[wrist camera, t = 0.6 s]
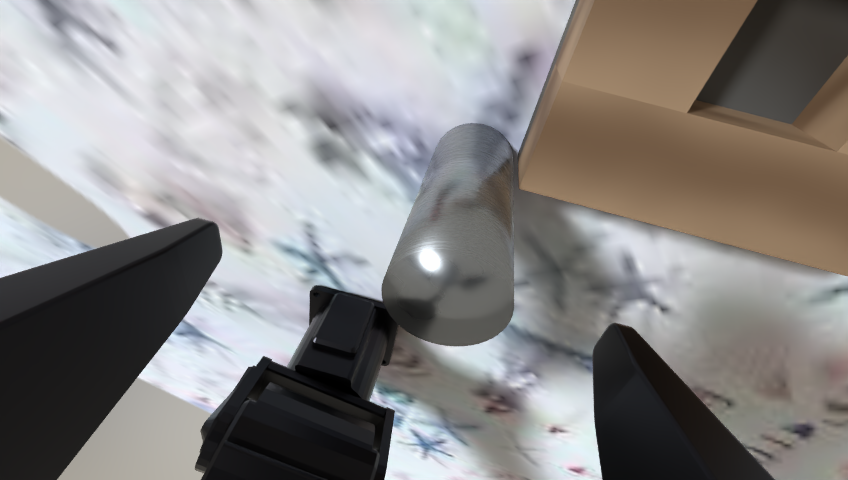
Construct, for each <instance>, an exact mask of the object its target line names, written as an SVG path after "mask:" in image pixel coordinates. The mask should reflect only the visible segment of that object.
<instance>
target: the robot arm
mask: <svg viewBox="0 0 848 480" xmlns="http://www.w3.org/2000/svg"><path fill="white" fill-rule="evenodd" d="M221 257H222V245H221V239H220V233H219V228H218V225H217V224H216V223H215V222H213V221H209V220H205V219H200V218H196V219H192V220H189V221H185V222H182V223H179V224H176V225H172V226H169V227H166V228H163V229H159V230H156V231H153V232H149V233H146V234H143V235H140V236H136V237H133V238H130V239H126V240H124V241H120V242H117V243H113V244H110V245H107V246H103V247H100V248H97V249H94V250H90V251H87V252H84V253H81V254H77V255H74V256H71V257H67V258H64V259H61V260H58V261H54V262H51V263H48V264H44V265H41V266H38V267H35V268H31V269H28V270H25V271H22V272H18V273H15V274H12V275H8V276H5V277H2V278H0V480H57V479H58V477H59V476H60V475H61V474H62V472H63V471H64V470H65V469H66V467H67V466H68V465H69V464H70V462H71V461H72V460H73V458H74V457H75V456H76V455H77V453H78V452H79V451H80V450H81V448H82V447H83V446H84V444H85V443H86V442H87V441H88V439H89V438H90V437H91V435H92V434H93V433H94V432H95V430H96V429H97V428H98V427H99V425H100V424H101V423H102V421H103V420H104V419H105V418H106V416H107V415H108V414H109V412H110V411H111V410H112V409H113V407H114V406H115V405H116V403H117V402H118V401H119V400H120V399H121V397H122V396H123V395H124V393H125V392H126V391H127V390H128V388H129V387H130V386H131V385H132V383H133V382H134V381H135V379H136V378H137V377H138V376H139V374H140V373H141V372H142V371H143V369H144V368H145V367H146V365H147V364H148V363H149V362H150V360H151V359H152V358H153V357H154V355H155V354H156V353H157V351H158V350H159V349H160V348H161V346H162V345H163V344H164V343H165V341H166V340H167V339H168V337H169V336H170V335H171V334H172V332H173V331H174V330H175V328H176V327H177V326H178V325H179V323H180V322H181V321H182V319H183V318H184V317H185V315H186V314H187V312H188V311H189V309H190V308H191V306H192V305H193V303H194V302H195V300H196V299H197V297H198V295H199V294H200V292H201V290H202V289H203V287H204V286H205V284H206V282H207V281H208V279H209V278H210V276H211V274H212V273H213V271H214V270H215V268H216V266H217V265H218V263H219V262H220V260H221ZM317 292H318V293H317ZM397 329H398V324H397V323H396V322H395V321H394V319H393V318H392V317H391V316H390V314H389V313H388V311H387V309H386V307H385V305H384V304H383V303H379V302H376V301H372V300H369V299H365V298H361V297H358V296H354V295H351V294H347V293H343V292H340V291H336V290H333V289H329V288H325V287H322V286H317V285H316V286H314V287H313V288H312V289H311V291H310V319H309V328H308V329H307V331H306V333H305V335H304V337H303V338H302V340H301V342H300V344H299V346H298V348H297V349H296V351H295V353H294V355H293V357H292V358H291V360H290V362H289V364H288V366H287V367H285V366H283V365H280V364H278V363H275V362H273V361H272V359H270V358H267V357H265V356H263V357H262V359H261V360H260V362H259V363H258V364H257V366H253V367H248V369H247V370H246V372H245V373H244V375H243V376H242V378H241V380H240V381H239V383H238V384H237V386H236V387H235V388H234V390H233V391H232V392H231V394H230V395H229V396H228V397H227V398H226V399H225V400H224V401H223V403H222V404H221V405H220V406H219V407H218V408H217V409H216V410H215V411H214V412H213V413H212V415H211V416H210V417H209V418H208V419H207V420H206V422H205V423H204V425H203V426H202V429H201V435H202V439H203V445H202V447H201V449H200V455H199V457H198V460H197V462H196V465H195V470H197V471H199V472H202V473H204V475H203V477H202V479H201V480H384V478H385V474H386V468H387V462H388V455H389V448H390V441H391V434H392V427H393V420H394V413H395V410H392V409H390V408H388V407H386V408H384V407H381V406H379V405H376V404H374V403H372V402H369V401H370V398H371V395H372V392H373V389H374V386H375V382H376V379H377V376H378V373H379V370H380V367H381V365H383V366H387V365H388V364H389V362H390V359H391V355H392V350H393V346H394V342H395V338H396V334H397ZM593 393H594V420H595V429H596V437H597V444H598V451H599V458H600V465H601V472H602V479H603V480H775V479H774V478H773V477H772V476H771V475H770V474H769V473H768V472H767V471H766V470H765V469H764V467H763V466H762V465H761V464H760V463H759V462H758V461H757V460H756V459H755V458H754V457H753V456H752V455H751V454H750V453H749V451H748V450H747V449H746V448H745V447H744V446H743V445H742V444H741V443H740V442H739V441H738V440H737V439H736V438H735V436H734V435H733V434H732V433H731V432H730V431H729V430H728V429H727V428H726V427H725V426H724V425H723V424H722V423H721V421H720V420H719V419H718V418H717V417H716V416H715V415H714V414H713V413H712V412H711V411H710V410H709V409H708V408H707V406H706V405H705V404H704V403H703V402H702V401H701V400H700V399H699V398H698V397H697V396H696V395H695V394H694V393H693V392H692V390H691V389H690V388H689V387H688V386H687V385H686V384H685V383H684V382H683V381H682V380H681V379H680V378H679V377H678V375H677V374H676V373H675V372H674V371H673V370H672V369H671V368H670V367H669V366H668V365H667V364H666V363H665V362H664V360H663V359H662V358H661V357H660V356H659V355H658V354H657V353H656V352H655V351H654V350H653V349H652V348H651V347H650V345H649V344H648V343H647V342H646V341H645V340H644V339H643V338H642V337H641V336H640V335H639V334H638V333H637V332H636V331H635V330H634V329H633V328H632V327H629V326H626V325H622V324H618V323H612V324H610V325H609V326H608V328H607V329H606V331H605V332H604V333H603V335H602V336H601V338H600V339H599V341H598V342H597V344H596V345H595V347H594V350H593Z"/></svg>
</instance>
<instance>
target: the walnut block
mask: <svg viewBox="0 0 848 480" xmlns="http://www.w3.org/2000/svg"><path fill="white" fill-rule="evenodd" d="M518 176H519V189H521V190H525V191H529V192H533V193H536V194H540V195H544V196H548V197H552V198H555V199H559V200H563V201H567V202H570V203H574V204H578V205H582V206H585V207H589V208H593V209H597V210H600V211H604V212H608V213H612V214H615V215H619V216H623V217H627V218H630V219H634V220H638V221H642V222H645V223H649V224H653V225H657V226H660V227H664V228H668V229H672V230H676V231H679V232H683V233H687V234H691V235H694V236H698V237H702V238H706V239H709V240H713V241H717V242H721V243H724V244H728V245H732V246H736V247H739V248H743V249H747V250H751V251H754V252H758V253H762V254H766V255H769V256H773V257H777V258H781V259H784V260H788V261H792V262H796V263H800V264H803V265H807V266H811V267H815V268H818V269H822V270H826V271H830V272H833V273H837V274H841V275H845V276H848V0H576V2H575V4H574V7H573V10H572V12H571V15H570V18H569V20H568V23H567V25H566V28H565V31H564V33H563V36H562V39H561V41H560V44H559V47H558V49H557V52H556V55H555V57H554V60H553V63H552V65H551V68H550V71H549V73H548V76H547V79H546V81H545V84H544V87H543V89H542V92H541V95H540V97H539V100H538V103H537V105H536V108H535V111H534V113H533V116H532V119H531V121H530V124H529V127H528V129H527V132H526V134H525V137H524V140H523V142H522V145H521V148H520V150H519V153H518Z"/></svg>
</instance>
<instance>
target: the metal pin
mask: <svg viewBox="0 0 848 480" xmlns="http://www.w3.org/2000/svg"><path fill="white" fill-rule="evenodd" d="M382 299H383V302H384V305H385V307H386V309H387V311H388V313H389V314H390V316H391V317H392V318H393V319H394V321H395V322H396V323H397V324H398V325H400V326H401V327H402V328H403V329H404V330H406V331H407V332H409V333H411V334H412V335H414V336H416V337H418V338H420V339H423V340H425V341H428V342H431V343H435V344H440V345H446V346H468V345H474V344H479V343H482V342H485V341H487V340H489V339H492V338H493V337H495V336H496V335H498V334H499V333H500V332H502V331H503V330H504V329H505V327H506V326H507V325H508V323H509V322H510V320H511V318H512V315H513V311H514V201H513V153H512V149H511V147H510V145H509V143H508V141H507V140H506V138H505V137H504V136H503V135H502V134H501V133H500V132H498V131H497V130H495V129H494V128H492V127H490V126H487V125H483V124H477V123H470V124H463V125H460V126H457V127H455V128H453V129H451V130H450V131H448V132H447V133H446V134H445V135H444V136H443V137H442V138H441V140H440V141H439V143H438V145H437V147H436V149H435V152H434V154H433V157H432V159H431V162H430V164H429V167H428V169H427V172H426V174H425V177H424V179H423V182H422V184H421V187H420V189H419V192H418V194H417V197H416V199H415V202H414V204H413V207H412V209H411V212H410V214H409V217H408V219H407V222H406V224H405V227H404V229H403V232H402V234H401V237H400V239H399V242H398V244H397V247H396V249H395V252H394V254H393V257H392V260H391V262H390V265H389V267H388V270H387V272H386V275H385V277H384V280H383V283H382Z"/></svg>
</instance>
